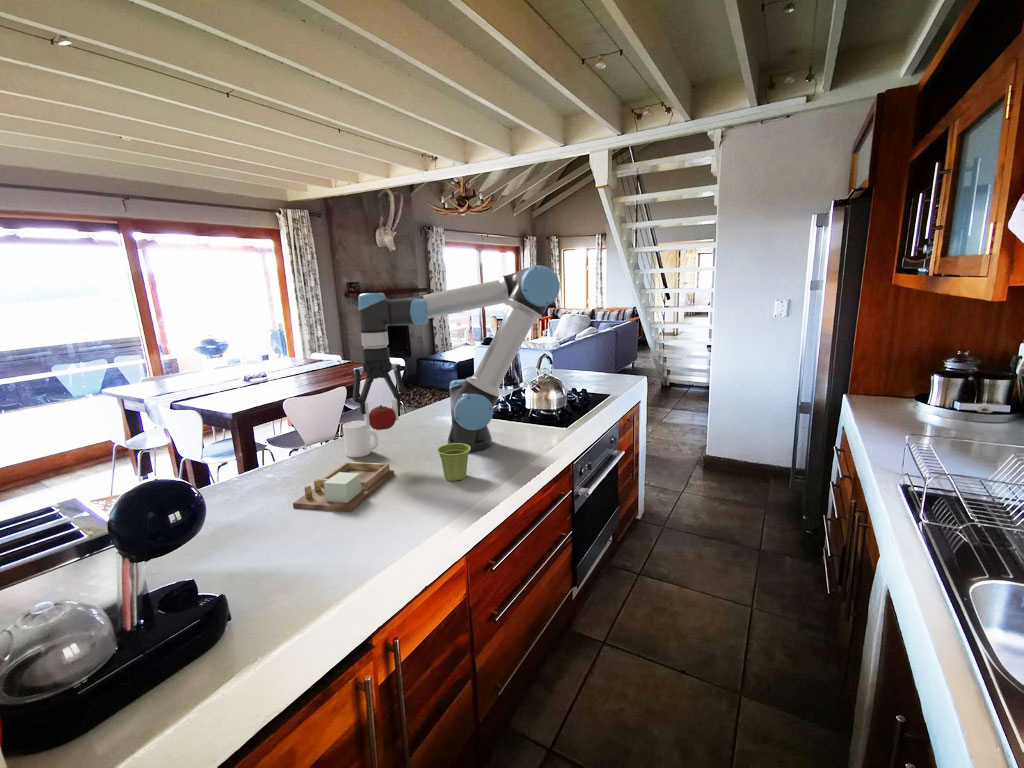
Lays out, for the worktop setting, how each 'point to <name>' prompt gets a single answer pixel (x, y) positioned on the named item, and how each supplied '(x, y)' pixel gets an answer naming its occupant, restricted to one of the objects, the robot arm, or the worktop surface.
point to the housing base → (370, 481)
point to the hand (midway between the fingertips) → (381, 421)
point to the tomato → (382, 418)
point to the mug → (358, 439)
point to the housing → (342, 487)
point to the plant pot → (454, 460)
